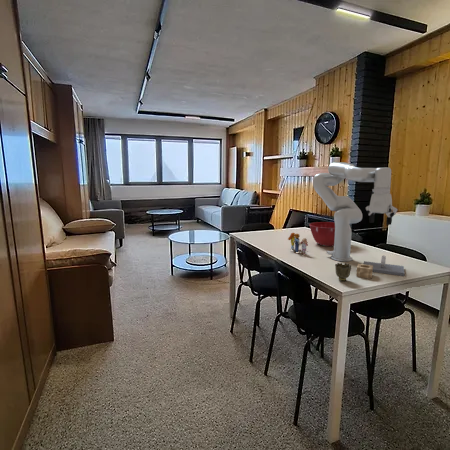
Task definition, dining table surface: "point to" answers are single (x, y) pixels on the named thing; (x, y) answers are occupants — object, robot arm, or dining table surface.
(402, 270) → the needle board
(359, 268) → the oak bead
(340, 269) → the cup
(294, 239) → the doll family
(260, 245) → the dining table surface
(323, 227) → the mixing bowl
